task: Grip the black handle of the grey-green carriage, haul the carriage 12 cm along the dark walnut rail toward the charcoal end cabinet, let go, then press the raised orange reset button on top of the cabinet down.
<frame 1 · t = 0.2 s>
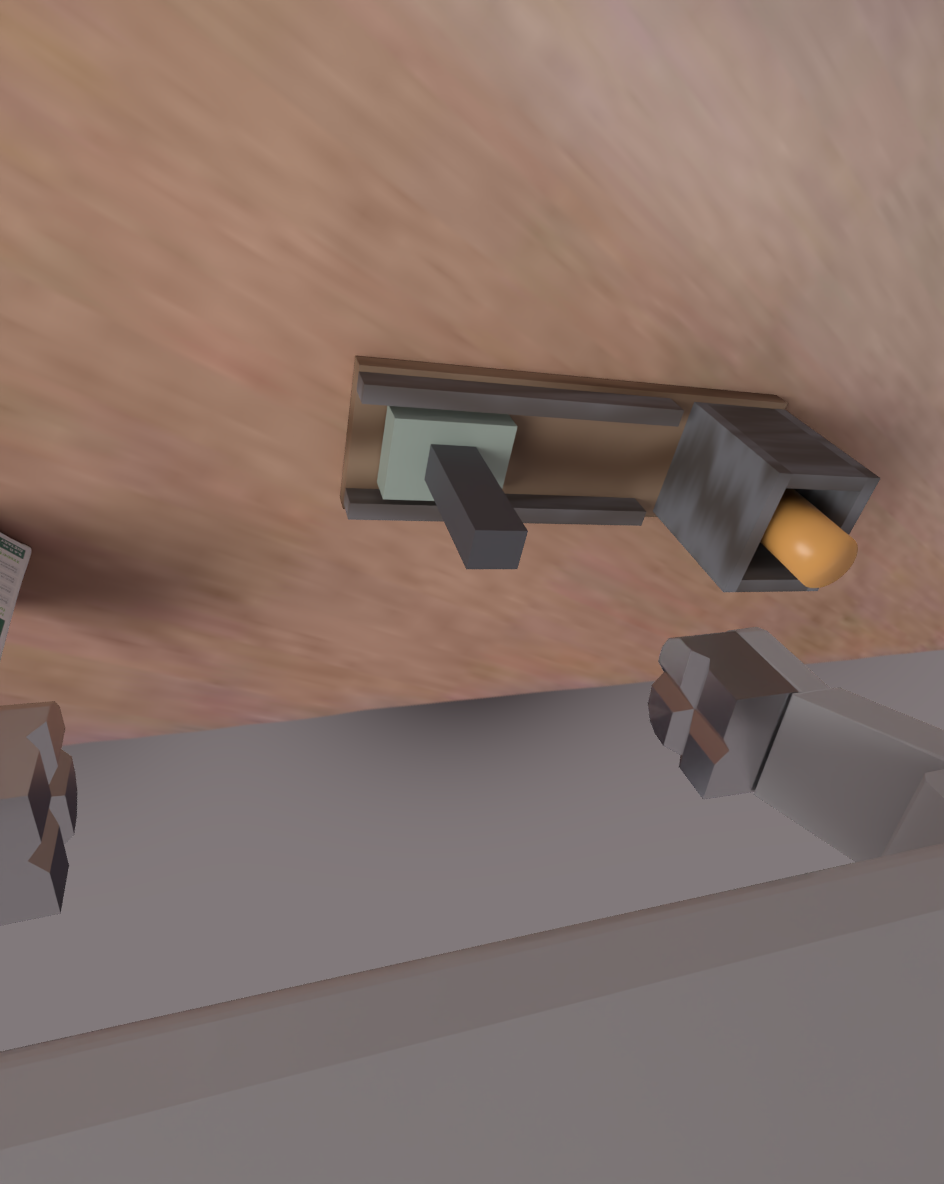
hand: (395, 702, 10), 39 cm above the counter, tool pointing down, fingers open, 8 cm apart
reset button: (800, 536, 50), point 12 cm above the counter, slide at 0.0 cm
rail: (568, 443, 55), on the counter
carriage: (466, 493, 46), point 8 cm above the counter, slide at 0.0 cm
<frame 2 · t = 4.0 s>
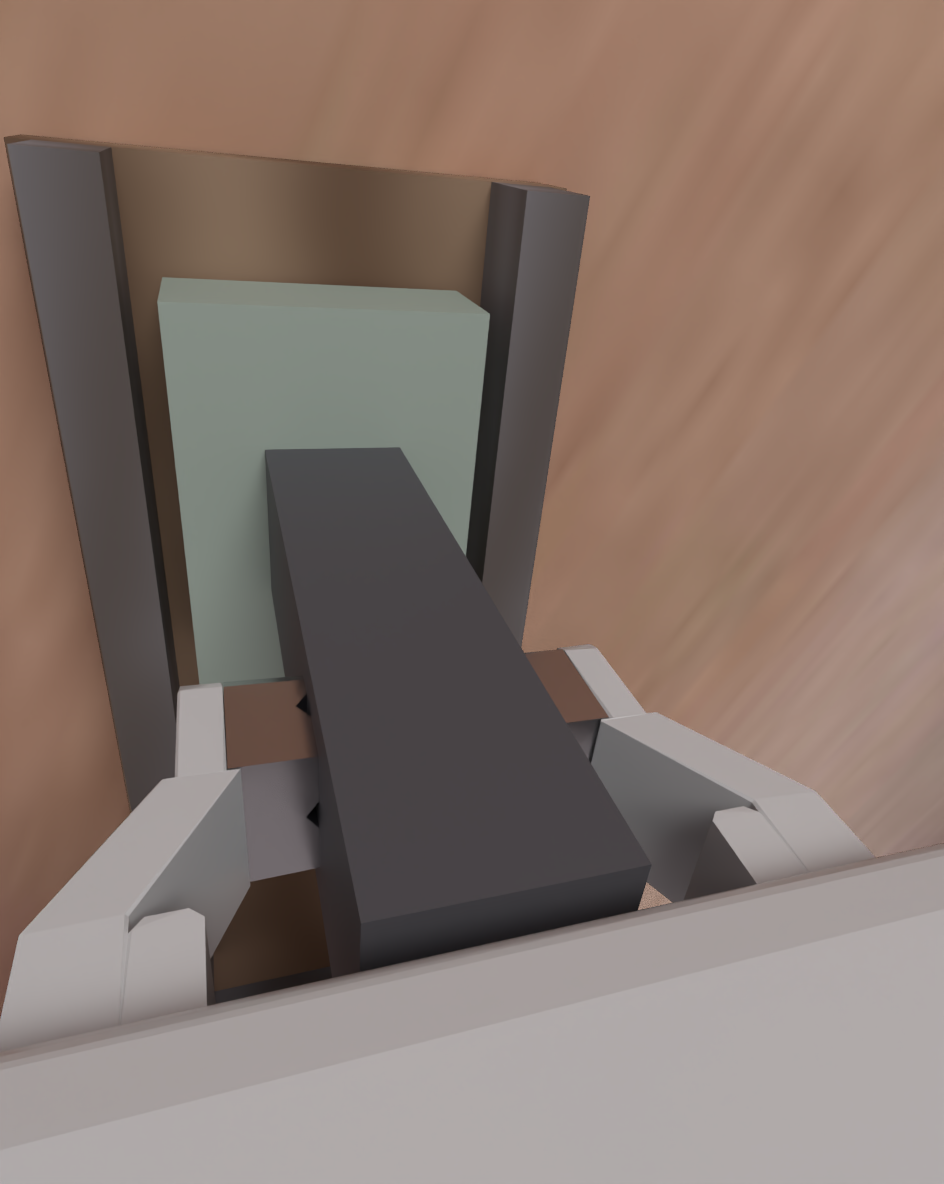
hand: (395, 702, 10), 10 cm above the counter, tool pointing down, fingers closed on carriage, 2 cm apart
rail: (314, 762, 23), on the counter
carriage: (370, 630, 12), point 8 cm above the counter, slide at 0.0 cm, touching gripper
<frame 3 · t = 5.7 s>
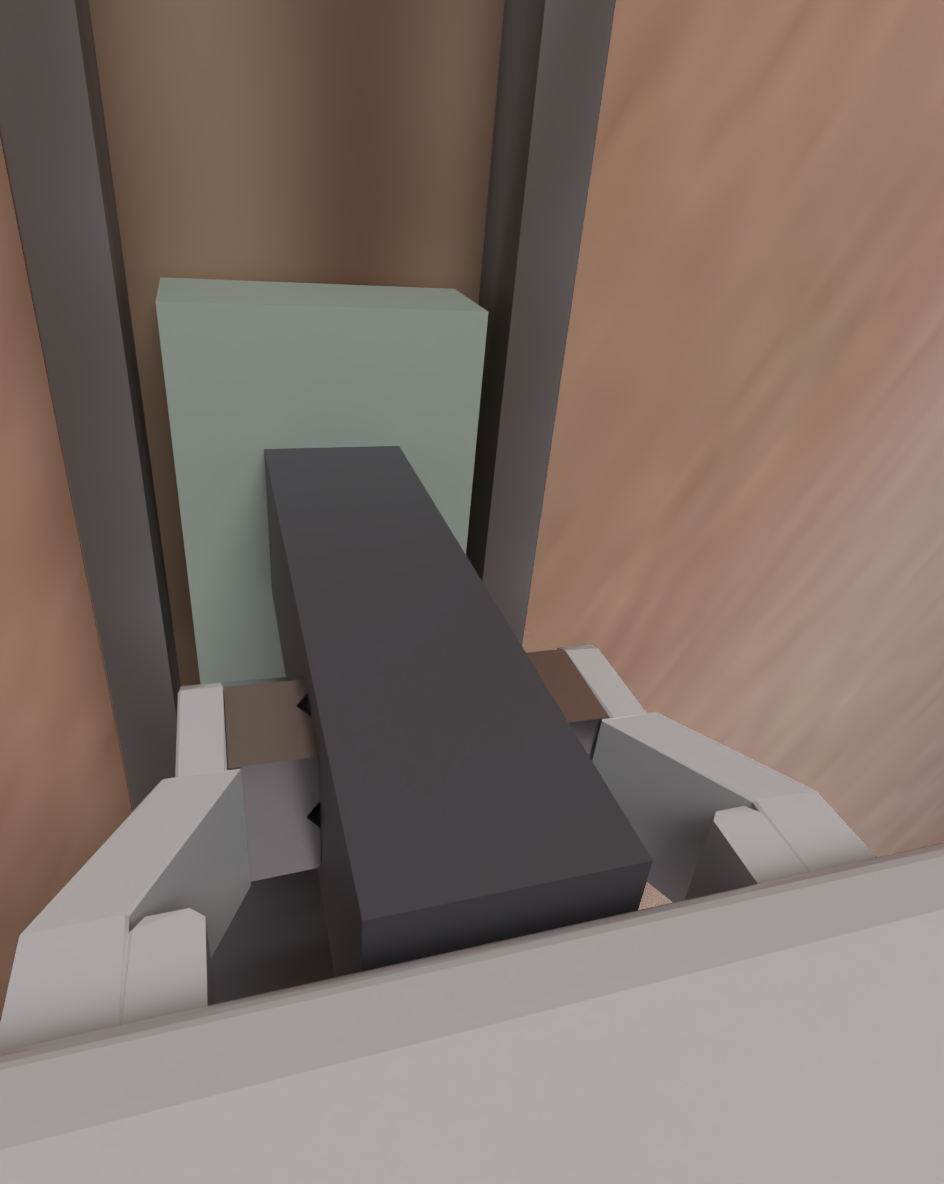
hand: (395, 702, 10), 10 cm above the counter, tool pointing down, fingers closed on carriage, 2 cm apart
rail: (311, 530, 19), on the counter
carriage: (371, 629, 12), point 8 cm above the counter, slide at 7.9 cm, touching gripper
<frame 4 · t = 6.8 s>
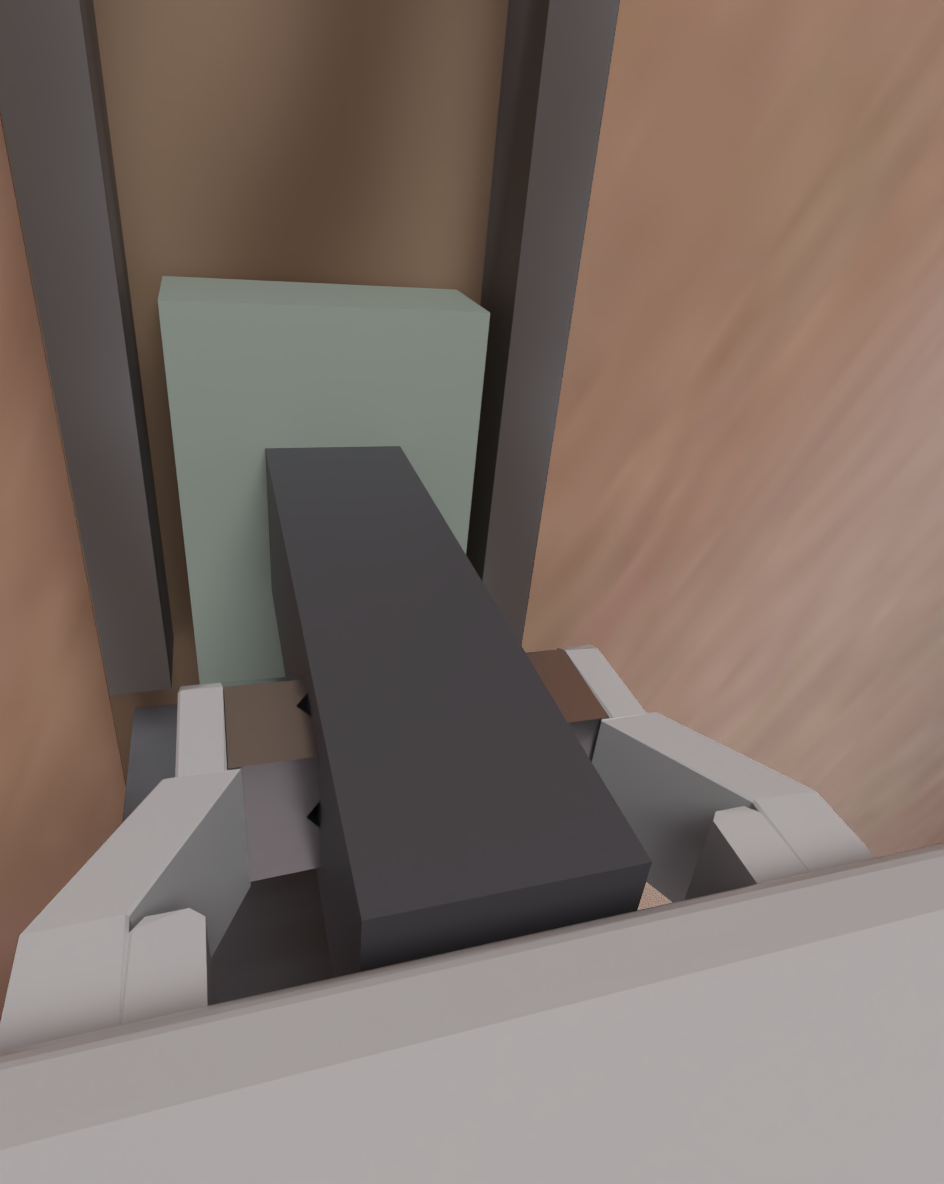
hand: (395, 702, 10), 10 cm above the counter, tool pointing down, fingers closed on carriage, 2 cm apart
rail: (308, 364, 17), on the counter
carriage: (371, 629, 12), point 8 cm above the counter, slide at 12.0 cm, touching gripper
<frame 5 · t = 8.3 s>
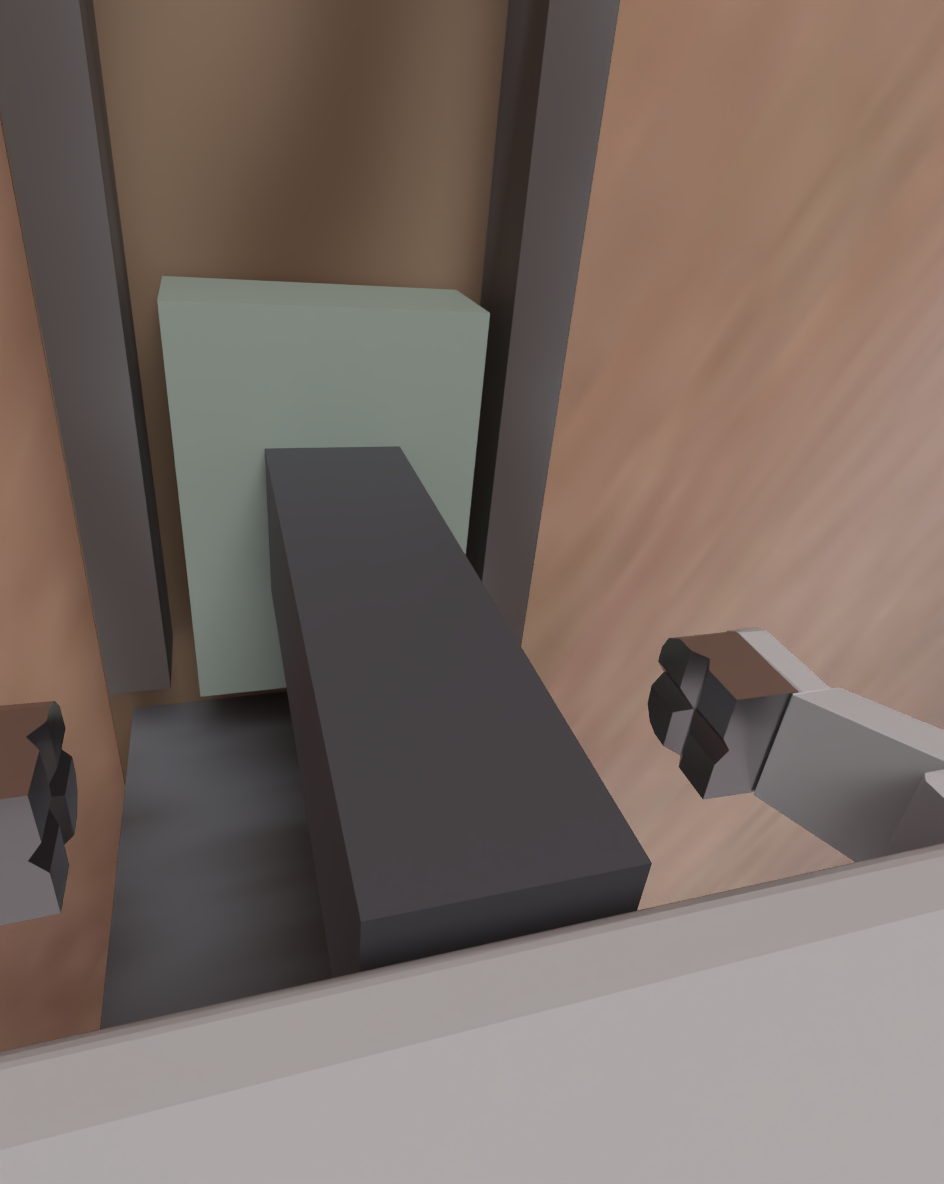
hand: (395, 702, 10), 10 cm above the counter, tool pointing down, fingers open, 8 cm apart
rail: (308, 363, 17), on the counter
carriage: (370, 629, 12), point 8 cm above the counter, slide at 12.0 cm
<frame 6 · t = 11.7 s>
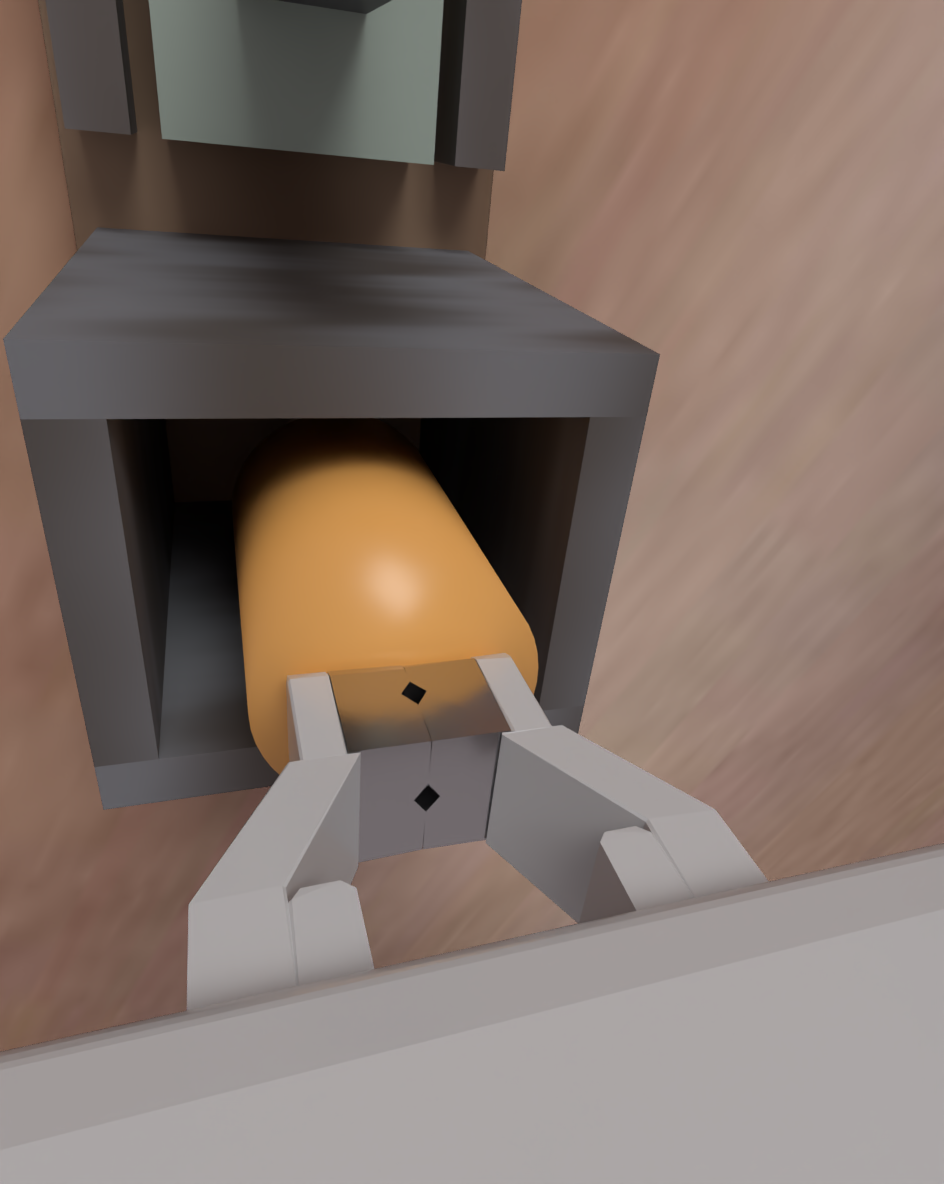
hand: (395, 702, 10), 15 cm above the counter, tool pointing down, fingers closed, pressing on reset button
reset button: (362, 585, 13), point 12 cm above the counter, slide at 0.3 cm, touching gripper
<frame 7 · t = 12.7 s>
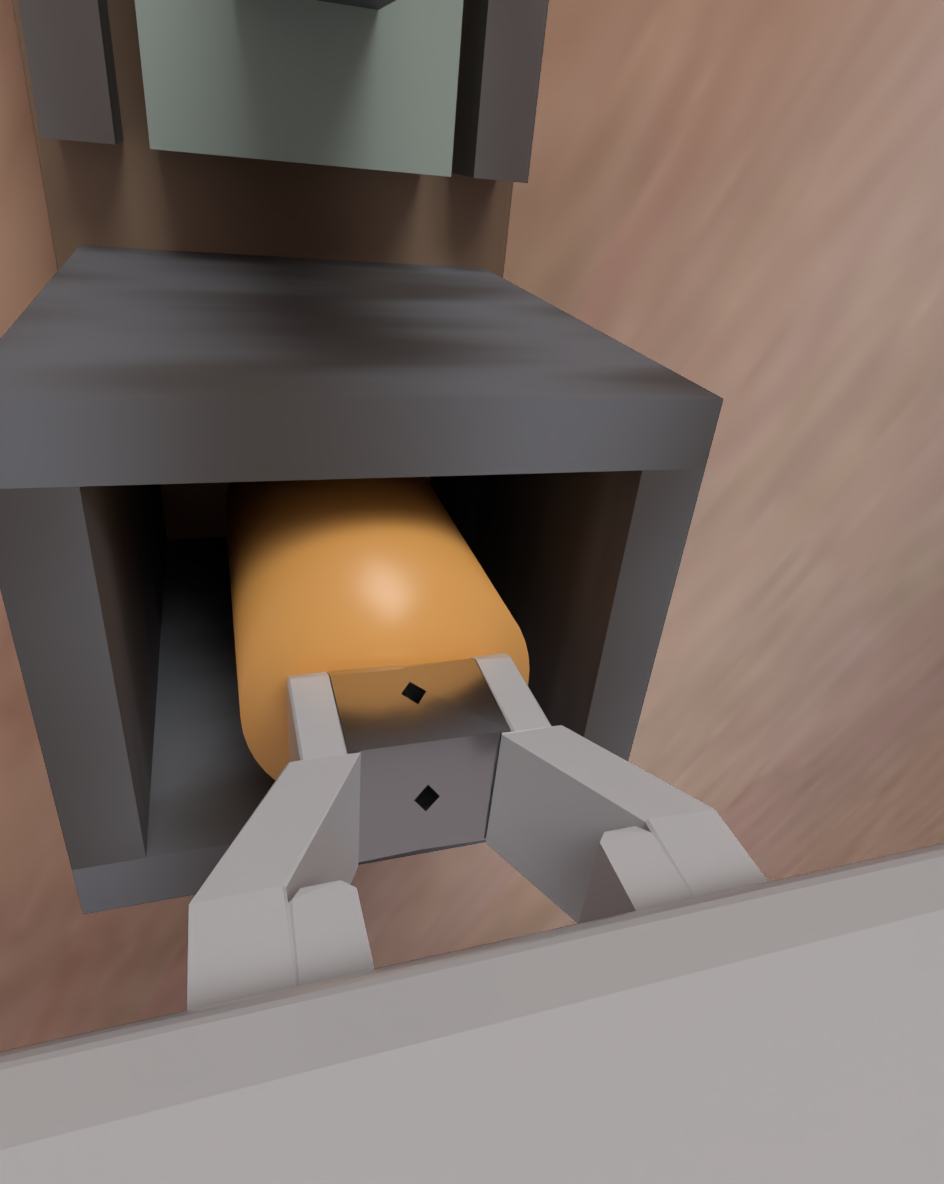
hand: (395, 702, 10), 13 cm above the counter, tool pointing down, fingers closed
reset button: (355, 588, 13), point 10 cm above the counter, slide at 2.4 cm
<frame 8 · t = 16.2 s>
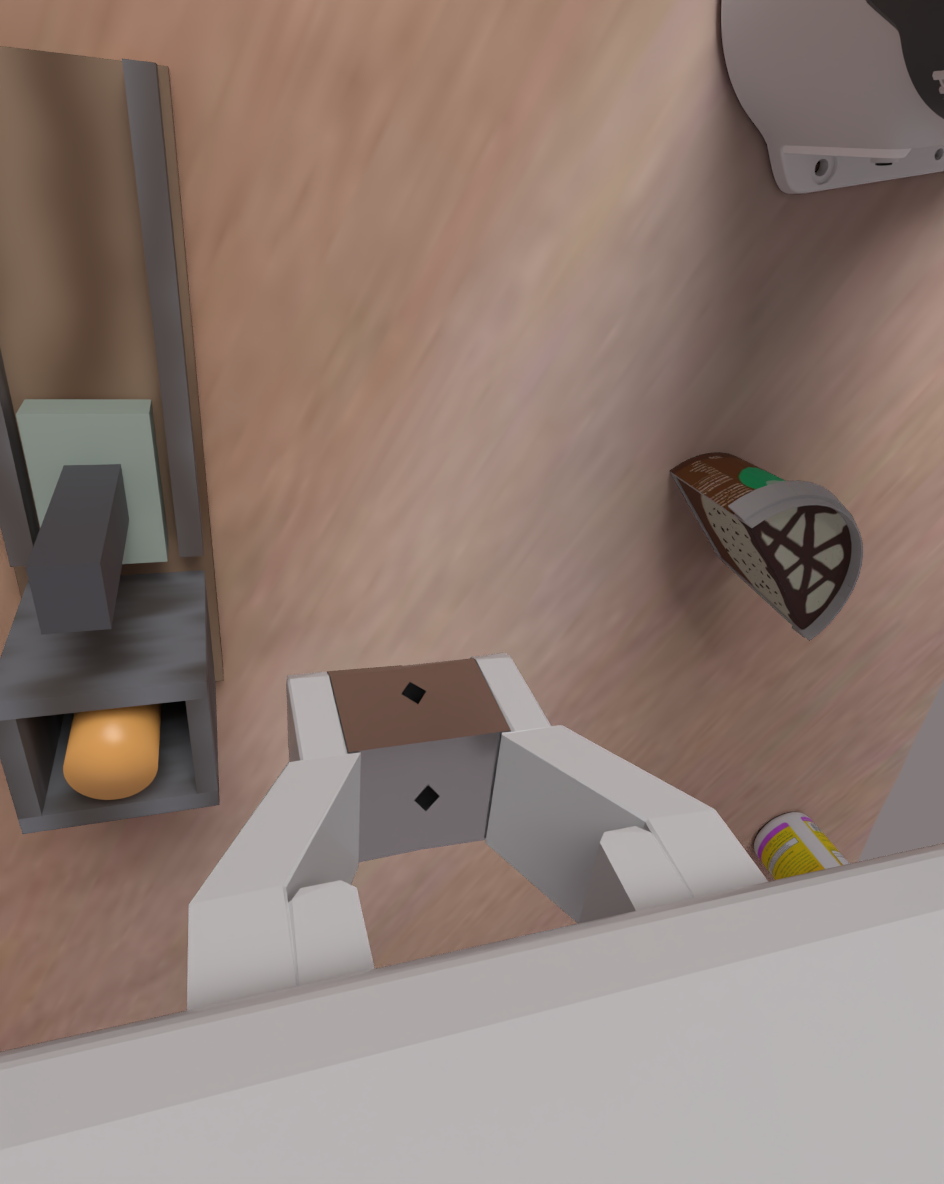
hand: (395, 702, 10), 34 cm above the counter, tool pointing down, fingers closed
reset button: (116, 726, 38), point 10 cm above the counter, slide at 2.4 cm
supplement bottle: (778, 830, 79), on the counter
food container: (729, 488, 54), on the counter
rail: (99, 427, 40), on the counter
carriage: (88, 528, 34), point 8 cm above the counter, slide at 12.0 cm
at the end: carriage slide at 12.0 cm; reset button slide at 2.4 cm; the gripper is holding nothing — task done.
